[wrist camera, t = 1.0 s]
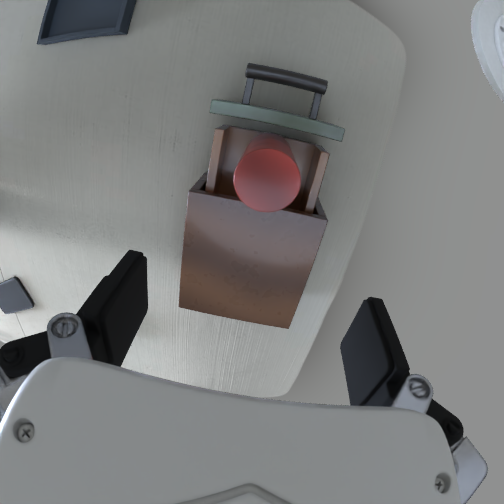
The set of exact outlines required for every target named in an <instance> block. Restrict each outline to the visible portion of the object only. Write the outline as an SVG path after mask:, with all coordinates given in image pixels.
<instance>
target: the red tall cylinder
mask: <svg viewBox="0 0 504 504" xmlns="http://www.w3.org/2000/svg"><path fill="white" fill-rule="evenodd" d="M233 183H234V188H235V191H236V193H237V195H238V197H239V198H240V200H241V201H242V202H243V203H244V204H245V205H247V206H248V207H250V208H251V209H254V210H256V211H260V212H275V211H279V210H282V209H284V208H285V207H287V206H288V205H290V204H291V203H292V202H293V201H294V200H295V198H296V197H297V195H298V193H299V190H300V186H301V175H300V171H299V169H298V166H297V163H296V161H295V158H294V156H293V153H292V151H291V148H290V146H289V144H288V142H287V141H286V140H285V139H284V138H283V137H282V136H280V135H278V134H275V133H269V132H267V133H262V134H259V135H257V136H255V137H254V138H253V139H252V140H251V141H250V143H249V144H248V146H247V148H246V150H245V152H244V153H243V155H242V157H241V159H240V161H239V163H238V165H237V166H236V169H235V172H234V178H233Z"/></svg>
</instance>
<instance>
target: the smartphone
mask: <svg viewBox="0 0 504 504" xmlns="http://www.w3.org/2000/svg"><path fill="white" fill-rule="evenodd" d="M33 307H34V303H33V301H32V300H31V298H30V297H29V295H28V294H27V292H26V290H25V289H24V287H23V285H22V284H21V282H20V281H19V279H18V278H17V277H14V278H11V279H9V280H7V281H4V282H2V283H0V308H1V309H2V311H3V312H4V313H5V314H10V313H14V312H17V311H21V310H25V309H30V308H33Z"/></svg>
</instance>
